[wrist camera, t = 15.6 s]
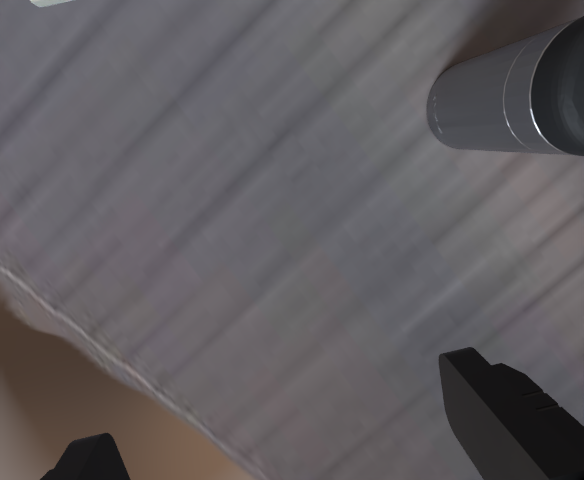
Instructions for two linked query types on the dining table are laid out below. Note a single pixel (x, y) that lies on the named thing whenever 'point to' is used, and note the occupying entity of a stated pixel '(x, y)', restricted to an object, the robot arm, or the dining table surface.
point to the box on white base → (47, 2)
